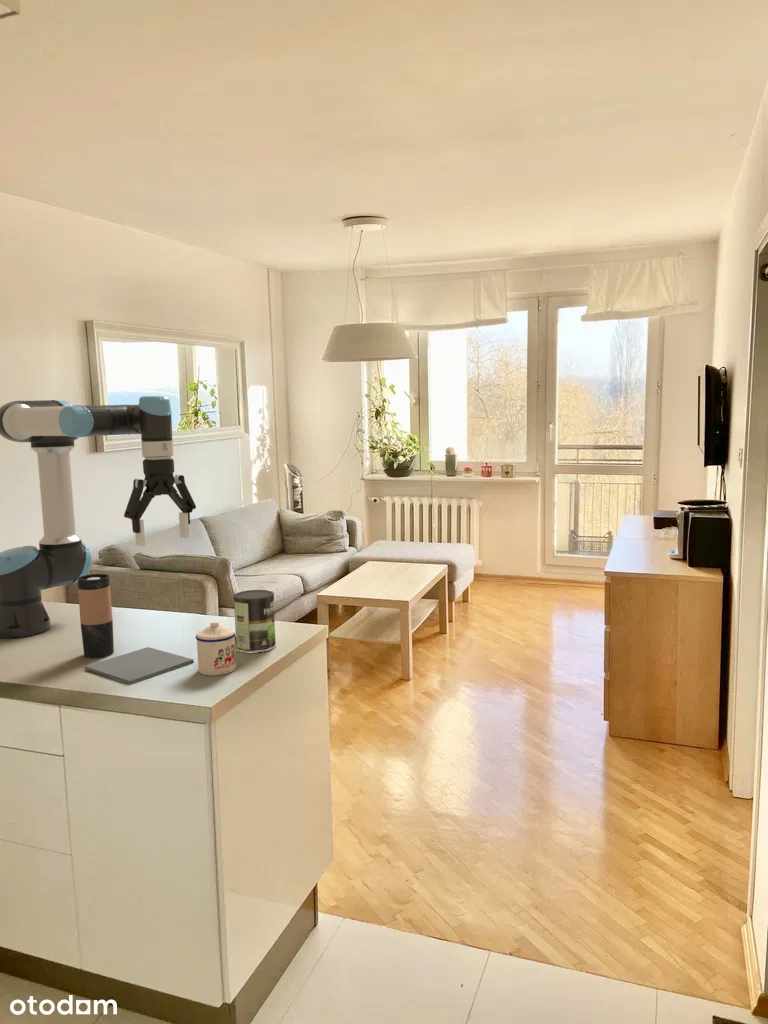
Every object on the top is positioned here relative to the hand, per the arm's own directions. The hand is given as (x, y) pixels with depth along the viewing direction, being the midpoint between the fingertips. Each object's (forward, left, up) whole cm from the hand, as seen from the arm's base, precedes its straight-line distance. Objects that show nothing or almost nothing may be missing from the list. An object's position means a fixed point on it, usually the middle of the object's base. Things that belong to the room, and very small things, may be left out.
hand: (163, 541), depth 198 cm
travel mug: (-11, -13, -28) cm, 33 cm away
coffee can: (+19, +13, -28) cm, 36 cm away
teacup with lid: (+24, -3, -28) cm, 37 cm away
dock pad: (+6, -13, -28) cm, 32 cm away
